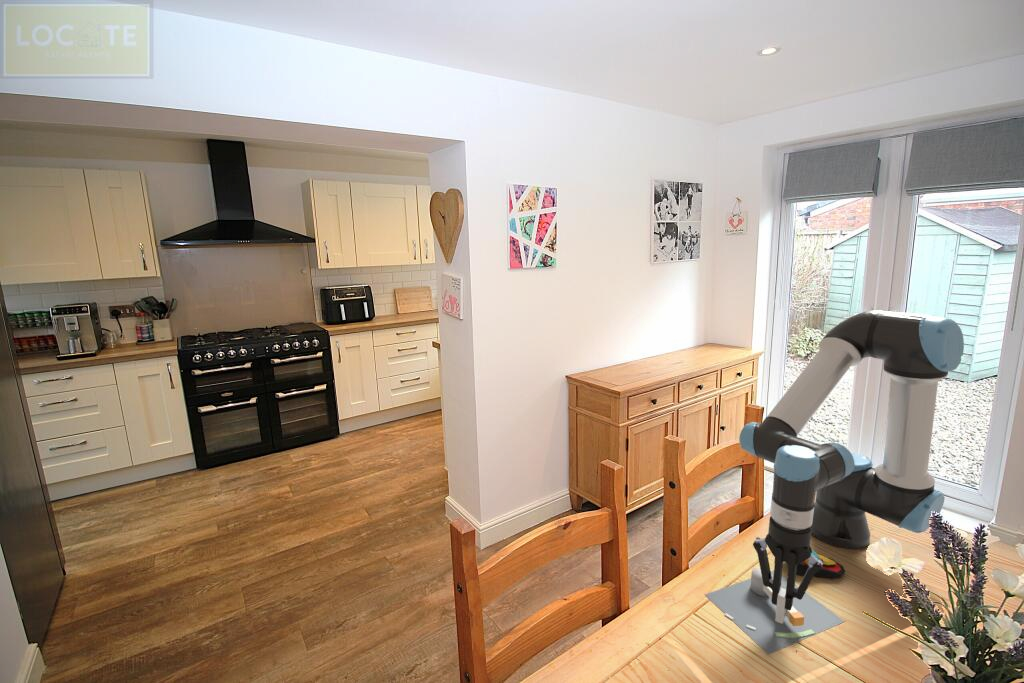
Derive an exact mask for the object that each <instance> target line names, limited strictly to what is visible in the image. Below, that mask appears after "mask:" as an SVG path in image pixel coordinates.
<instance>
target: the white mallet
mask: <svg viewBox="0 0 1024 683" xmlns="http://www.w3.org/2000/svg"><path fill="white" fill-rule="evenodd" d="M750 575H751V576H750V579H751V586H750V587H751V590H752V591H753V592H754V593H756V594H758V595H761V596H769V597H770V598H771V600H772V589H771V588H770V587H766V586H764V584H763V580H762V574H761V569H760V567H757V568H753V569H752V570H751V574H750ZM771 576H772V574H771ZM772 579H773V577H772ZM785 615H786V617H787V618H788V619H789V622H790V623H791V624H792V625H793V626H801V625H804V616H803V615H802V614H801V613H800V612H798V611H797V610H796V609H795V608H794V607H793V606H792V608H791V610H790V611H789V610H787V609H786V613H785Z"/></svg>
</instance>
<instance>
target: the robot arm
mask: <svg viewBox="0 0 1024 683" xmlns="http://www.w3.org/2000/svg"><path fill="white" fill-rule="evenodd" d="M818 347H819V350H818V351H817V353H816V354H815V355H814V356H813V357H812V359H811V360H810V361H809V363H808V364H807V365H806V367H805V368H804V369H803V370H802V371H801V373H800V374H799V375H798V376H797V378H796V380H794V381H793V383H791V386H790V387H789V388H788V389H787V391H785V393H784V394H783V396H782V397H781V398H780V399H779V401H778V402H777V403H776V405H775V406H774V407H773V408H772V410H771V411H770V412H769V413H768V415H767V416H766V417H765V418H764V420H763V421H762V422H761V423H760V422H755V421H750V422H749V423H746V424H745V425H743V427H742V429H741V430H740V433H739V437H738V440H739V445H740V447H741V449H742V450H743V451H745V452H746V453H748V454H750V455H753V456H754V457H756V458H758V459H762V460H764V461H767V462H769V463H772V464H773V479H772V480H773V481H772V493H771V501H770V510H769V511H770V516H769V522H768V523H769V524H768V533H767V534H766V536H765V538H760V537H755V540H754V541H753V543H752V547H753V548H754V550H755V552H756V553H757V558H758V562H759V568H760V569H761V574H762V580H763V584H764V586H766V587H770V588H771V589H772V600H771V601H772V604H775V605H777V607H776V617H775V621H777V622H779V623H781V624H783V621H784V618H785V613H786V609H787V610H789V611H790V610H791V608H792V605H793V598H797V599H799V600H801V599H802V598H803V596H804V594H805V592H806V593H807V590H808V587H809V586H810V584H811V582H812V580H813V578H814V577H813V576H814V574H815V573H817V572H818V571H820V570H821V569H822V565H823V560H822V559H821V558H816V557H815V556H814V555H813V554H812V549H813V548H811V547H812V546H811V537H812V536H813V537H815V538H816V539H818V540H820V541H822V542H824V543H826V544H828V545H830V546H831V545H832V546H835V547H838V548H843V549H852V550H853V549H855V550H857V549H863V548H865V547H866V546H868V545H870V540H871V531H870V528H869V523H868V520H867V516H866V513H867V514H869V515H872V516H874V517H876V518H879V519H881V520H884V521H886V522H888V523H890V524H893V525H895V526H897V527H898V528H899V529H904V530H907V531H910V532H913V533H915V534H921V533H925V532H927V531H928V530H929V529H930V528H929V518H930V516H931V511H932V510H934V511H936V512H937V513H939V515H940V513H941V512H942V509H943V506H944V504H945V494H944V493H943V492H942V491H940V490H939V489H935V485H936V484H935V483H936V482H935V478H934V477H933V475H932V474H930V472H929V462H930V455H931V454H930V452H931V444H932V436H933V427H934V419H935V410H936V403H937V394H938V383H939V382H940V381H941V380H943V379H945V378H947V377H948V375H949V372H952V371H955V370H956V369H957V368H958V367H959V366H960V364H961V361H962V356H963V355H964V352H965V351H964V350H965V349H964V348H965V341H964V334H963V331H962V328H961V326H959V324H958V322H956V321H955V320H953V319H951V318H949V317H942V316H935V315H932V314H924V313H923V314H921V313H910V312H898V311H889V310H888V311H887V310H884V309H883V310H879V309H878V310H877V309H875V310H872V309H871V310H867V311H863V312H859V313H856V314H855V315H852V316H849V317H848V318H846V319H844V320H842V321H841V322H839V323H838V324H837V325H835V326H834V327H833V328H831V329H830V330H829V331H828V332H826V335H824V336H823V338H821V340H820V342H819V344H818ZM865 358H873V359H879V360H882V361H883V371H884V372H885V373H886V374H887V375H888V376H889V377H890V382H889V390H888V391H889V393H888V403H887V404H888V405H887V414H886V428H885V436H884V439H885V440H884V448H883V457H882V458H883V460H882V463H881V464H879V465H877V466H876V467H873V464H874V463H873V462H872V460H871V459H870V458H868V457H867V456H865V455H863V454H859V453H855V452H851V451H850V450H849V449H848V448H847V447H846V446H844V445H842V444H841V443H836V442H826V443H822V444H819V443H815V442H813V441H810V440H807V439H804V438H802V437H798V435H799V434H800V433H801V431H802V430H803V429H804V427H805V426H806V425H807V424H808V422H809V421H810V420H811V419H812V418H813V417H814V415H815V414H816V412H817V411H818V410H819V408H820V407H821V406H822V404H823V403H824V402H825V401H826V399H827V398H828V396H829V395H830V394H831V392H832V391H833V390H834V388H835V387H836V386H837V385H838V384H839V382H840V381H841V379H842V378H843V377H844V376H845V375H846V373H847V372H848V370H849V369H850V368H851V367H855V366H858V365H859V364H860V363H861V361H862V360H863V359H865ZM767 548H768V550H769V551H770V552H771V554H772V556H774V562H773V564H774V568H773V570H774V576H773V579H772V576H771V571H772V570H771V567H770V566H771V565H770V561H769V555H768V550H767ZM806 559H809V562H808V565H809V567H808V569H807V571H806V573H805V575H804V576H802V579H801V582H800V584H798V585H799V586H798V589H797V588H795V585H796V579H797V574H796V572H797V565H798V564H800V563H802V562H803V561H805V560H806ZM784 563H786V564H787V563H788V564H787V576H786V578H787V586H786V589H783V588H780V587H781V584H782V583H781V580H782V575H783V570H784V569H783V568H784Z"/></svg>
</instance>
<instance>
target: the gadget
mask: <svg viewBox="0 0 1024 683" xmlns="http://www.w3.org/2000/svg"><path fill="white" fill-rule="evenodd" d="M811 549H812V554H813V555H814V556H815V557H816V558H821V559H822V560H823V565H822V569H821V570H820V571H818V572H817V573H815V574H814V576H813V578H819V579H820V578H821V579H825V580H827V579H828V580H833V579H835V578H837V579H839V578H841V577H842V576H844V575H845V574H846V569H845V568H844V566H843V565H842V564H840V563H839V562H837V561H836V560H835V559H833V558H831V557H827V556H825V555H821V554H818V553H817V552H816V551H815V550H814V549H813V548H811ZM808 562H809V559H806V560H805V561H803V562H802V563H800V564H798V565H797V572H796V576H801V577H804V575H805V573H806V571H807V569H808V567H809V565H808ZM786 564H787V565H788V563H786Z"/></svg>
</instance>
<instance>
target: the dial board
mask: <svg viewBox="0 0 1024 683" xmlns="http://www.w3.org/2000/svg"><path fill="white" fill-rule="evenodd" d="M770 571H771V574H772V577H773V576H774V569H773V570H770ZM781 583H782V584H781V587H780V588H783V589H786V586H787V577H785V576H784V575H783V574H782V580H781ZM750 586H751V578H748V579H746V580H742V581H740V582H737V583H734V584H730V585H728V586H725V587H723V588H720V589H717V590H713V591H711V592H707V593H706V594H704V596H705V597H706V598H707V599H708V600H709V601H710V602H712V604H714V605H715V606H716V607H717V608H718V609H719V610H721V612H722V613H723V614H724V616H726V617H727V618H728V619H730V620H731V621H732V622H733V623H734V624H735V625H736V626H737V627H738V628H739V629H741V631H743V632H744V633H745V634H746V635H747V636H748V637H749V638H750V639H751V640H752V641H754V642H755V644H756V645H758V647H760V648H761V649H762V650H763V651H764V652H765V653H766V655H770V654H772V653H775V652H777V651H779V650H782V649H785V648H788V647H789V646H791V645H794V644H796V643H798V642H800V641H801V642H802V641H804V640H805V639H807V638H810V637H812V636H815V635H817V634H820V633H821V632H823V631H826V630H828V629H832V628H833V627H836V626H839V625H840V624H842V623H843V624H844V623H845V622H846V620H844V619H843V618H841V617H840V616H839V615H837V614H836V613H835V612H834V611H832V610H830V609H829V608H828V607H826V605H823V603H821V602H819V601H818V600H817V599H815V598H814V597H813V596H811V595H810V594H808V593H807V591H806V592H805V594H804V596H803V598H802V599H801V600H799V599H797V598H793V605H792V606H793V607H794V608H795V609H796V610H797V611H798V612H800V613H801V614H802V615H803V616H804V625H801V626H793V625H792V624H791V623H790V622H789V619H788V618H787V617H786V615H785V618H784V621H783V624H781V623H779V622H777V621H775V617H776V607H777V605H775V604H772V601H771V598H770V597H769V596H761V595H758V594H756V593H754V592H753V591H752V590H751V587H750ZM798 587H799V586H798V585H797V584H795V588H797V589H798Z"/></svg>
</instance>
